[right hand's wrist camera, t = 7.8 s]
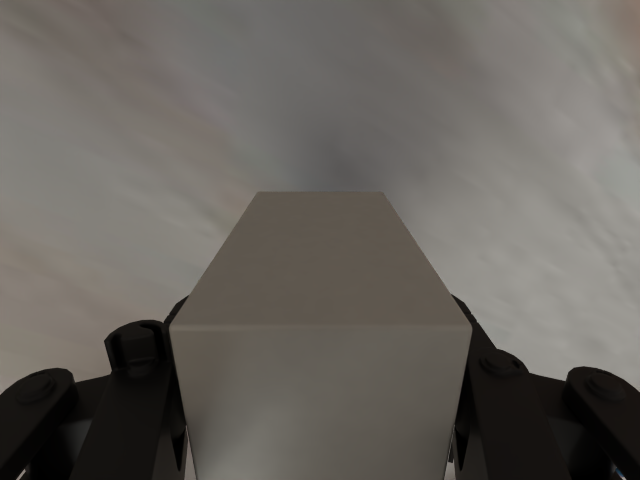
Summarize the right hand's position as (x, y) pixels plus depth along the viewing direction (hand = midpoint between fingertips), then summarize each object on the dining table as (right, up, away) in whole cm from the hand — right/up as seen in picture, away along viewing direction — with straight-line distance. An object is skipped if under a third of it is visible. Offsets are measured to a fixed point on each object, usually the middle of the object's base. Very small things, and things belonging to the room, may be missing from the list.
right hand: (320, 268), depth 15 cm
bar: (0, -8, +4) cm, 9 cm away
